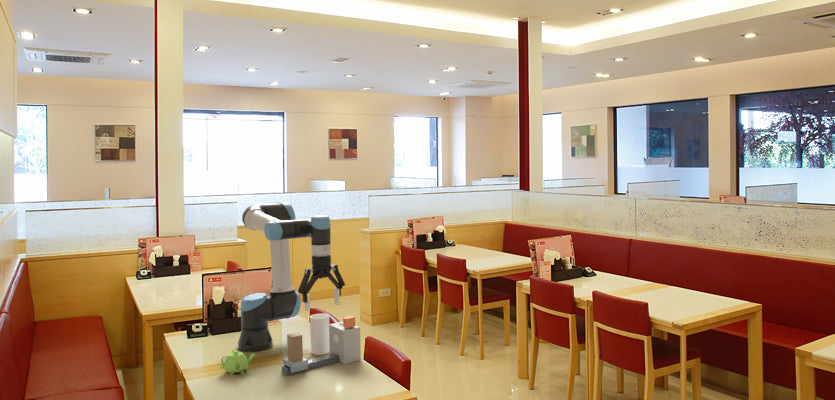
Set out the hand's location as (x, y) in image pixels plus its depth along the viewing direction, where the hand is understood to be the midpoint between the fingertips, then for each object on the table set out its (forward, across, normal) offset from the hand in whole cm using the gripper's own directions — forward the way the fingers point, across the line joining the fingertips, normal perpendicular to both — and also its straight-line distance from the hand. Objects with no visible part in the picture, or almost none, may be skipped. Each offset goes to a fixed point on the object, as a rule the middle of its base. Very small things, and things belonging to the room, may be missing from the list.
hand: (322, 307), depth 231 cm
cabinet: (+26, +14, +6) cm, 30 cm away
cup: (+26, +10, +20) cm, 34 cm away
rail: (+26, -2, +6) cm, 26 cm away
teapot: (+26, -26, +22) cm, 43 cm away
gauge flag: (+12, +14, +2) cm, 18 cm away
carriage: (+25, -9, +6) cm, 27 cm away
